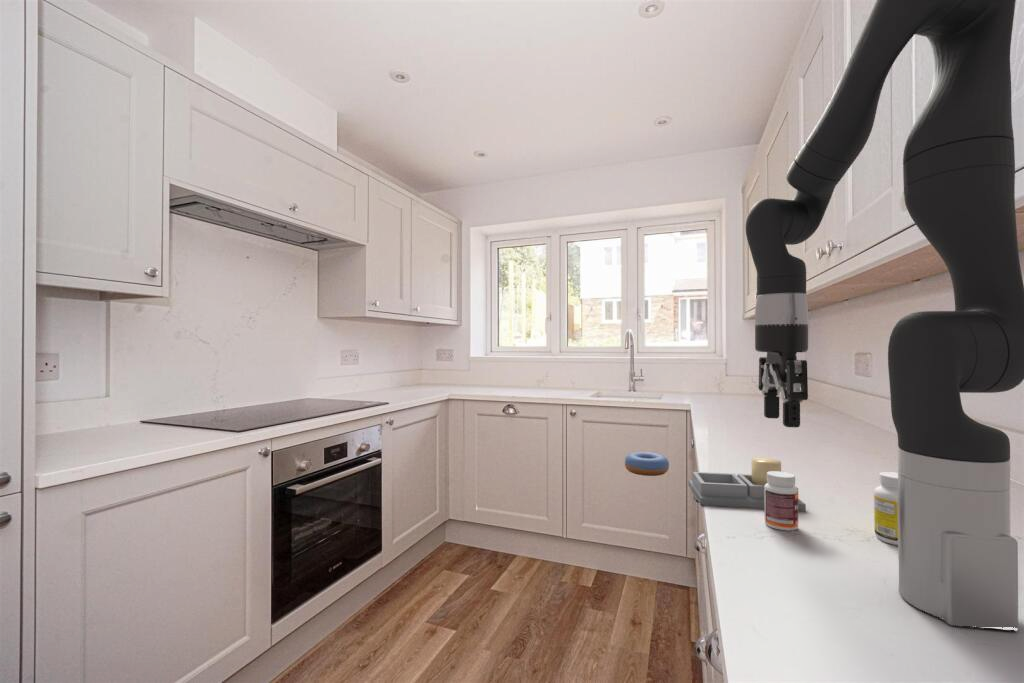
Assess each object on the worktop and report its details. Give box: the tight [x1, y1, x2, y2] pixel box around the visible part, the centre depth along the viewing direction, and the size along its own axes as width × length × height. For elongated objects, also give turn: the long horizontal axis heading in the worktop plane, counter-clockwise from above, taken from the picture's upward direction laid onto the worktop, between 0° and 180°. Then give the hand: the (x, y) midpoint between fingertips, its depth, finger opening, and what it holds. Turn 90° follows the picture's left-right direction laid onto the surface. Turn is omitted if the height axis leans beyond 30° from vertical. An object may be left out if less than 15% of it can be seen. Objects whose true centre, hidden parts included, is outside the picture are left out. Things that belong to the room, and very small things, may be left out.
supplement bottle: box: [873, 471, 898, 546], centre depth 71 cm, size 5×5×10 cm
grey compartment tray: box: [688, 457, 807, 512], centre depth 90 cm, size 12×18×7 cm
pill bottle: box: [763, 471, 799, 532], centre depth 76 cm, size 5×5×8 cm
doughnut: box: [624, 451, 670, 477], centre depth 109 cm, size 10×10×5 cm
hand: (780, 422), depth 76 cm, fingers open, 8 cm apart
